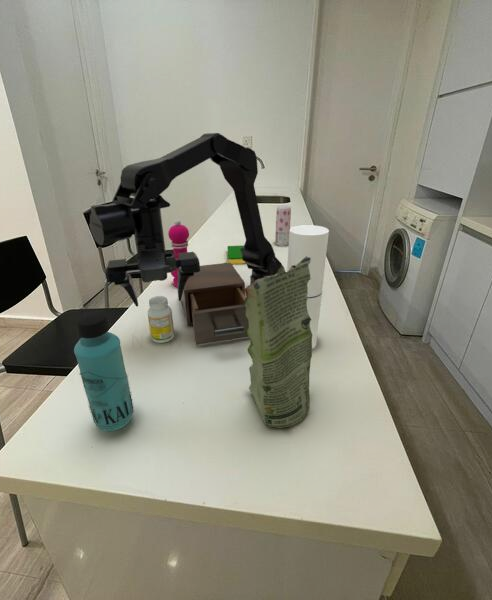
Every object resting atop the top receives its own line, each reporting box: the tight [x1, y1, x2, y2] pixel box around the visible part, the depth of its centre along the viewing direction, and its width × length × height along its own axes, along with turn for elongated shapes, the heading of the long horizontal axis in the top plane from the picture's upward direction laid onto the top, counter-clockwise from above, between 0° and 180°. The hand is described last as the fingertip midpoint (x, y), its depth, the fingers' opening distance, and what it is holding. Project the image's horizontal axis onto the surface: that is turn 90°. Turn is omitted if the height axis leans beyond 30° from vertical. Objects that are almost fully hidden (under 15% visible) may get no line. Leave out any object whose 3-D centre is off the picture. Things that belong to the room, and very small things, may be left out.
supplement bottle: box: [147, 295, 175, 344], centre depth 74 cm, size 5×5×10 cm
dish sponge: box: [227, 244, 246, 265], centre depth 122 cm, size 7×14×2 cm, turn 0°
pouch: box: [244, 256, 313, 429], centre depth 51 cm, size 11×12×25 cm
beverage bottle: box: [73, 311, 135, 432], centre depth 49 cm, size 6×7×20 cm
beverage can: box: [274, 205, 292, 247], centre depth 132 cm, size 6×6×15 cm
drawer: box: [189, 287, 250, 346], centre depth 75 cm, size 18×13×8 cm
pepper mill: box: [167, 219, 190, 288], centre depth 99 cm, size 7×7×20 cm
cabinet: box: [180, 262, 246, 327], centre depth 86 cm, size 15×15×10 cm
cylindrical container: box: [286, 224, 330, 350], centre depth 67 cm, size 7×7×25 cm
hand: (158, 302), depth 72 cm, fingers open, 9 cm apart
